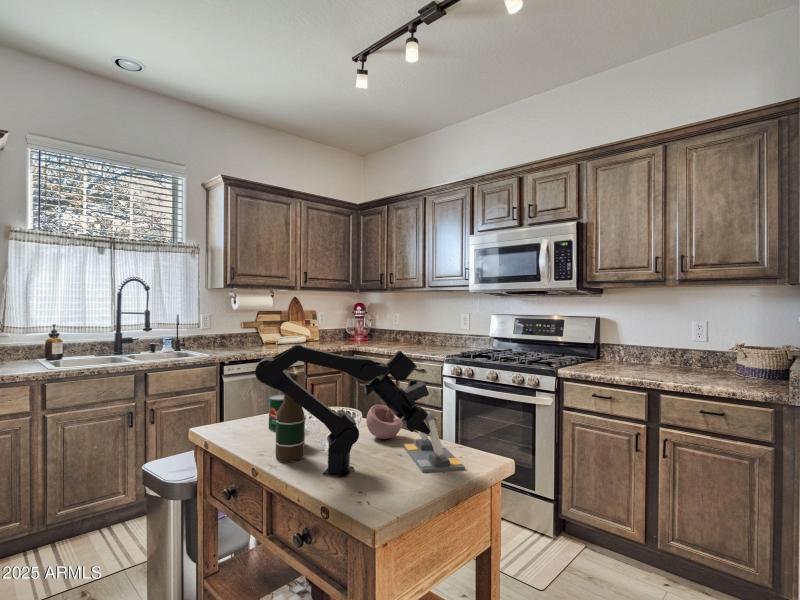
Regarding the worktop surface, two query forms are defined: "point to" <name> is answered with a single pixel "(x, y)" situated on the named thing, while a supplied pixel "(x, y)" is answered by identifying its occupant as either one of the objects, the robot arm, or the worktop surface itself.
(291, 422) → the beer bottle
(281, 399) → the canned tomato
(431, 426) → the lever front
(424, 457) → the switch base
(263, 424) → the worktop surface
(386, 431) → the mortar and pestle
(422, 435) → the lever rear
